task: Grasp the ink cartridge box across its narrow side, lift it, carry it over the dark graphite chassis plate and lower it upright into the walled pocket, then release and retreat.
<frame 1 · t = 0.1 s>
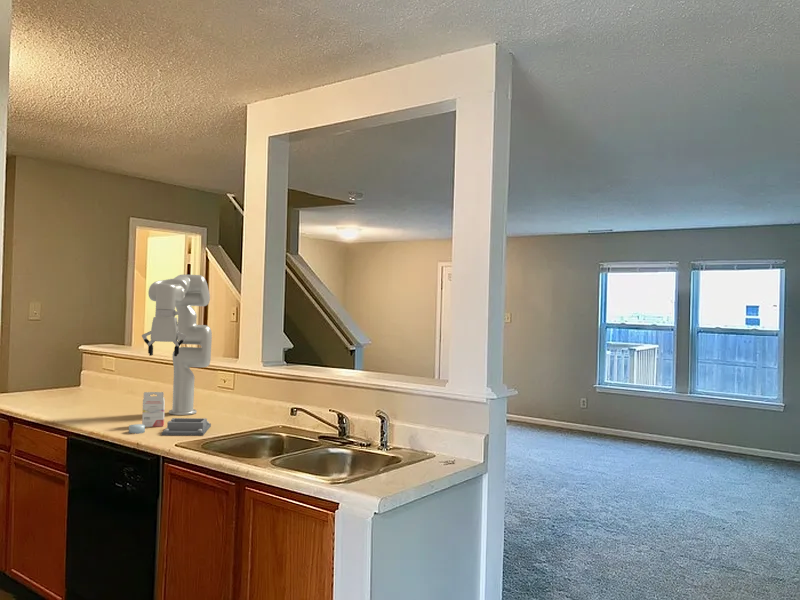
hand: (163, 355, 258), 31 cm above the worktop, fingers open, 9 cm apart
chassis plate: (187, 430, 262), on the worktop
pale blue dome: (136, 432, 256), on the worktop
ink cartridge box: (153, 426, 270), on the worktop
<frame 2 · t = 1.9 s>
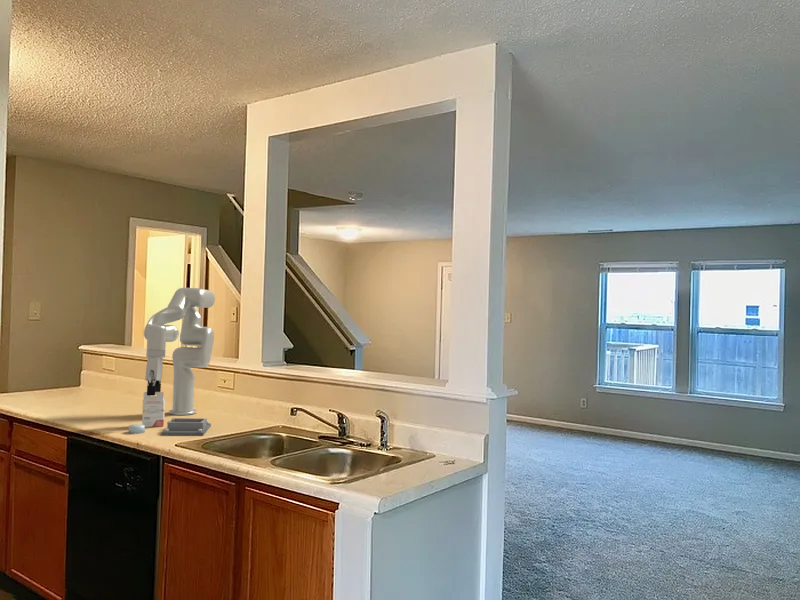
hand: (153, 394, 270), 14 cm above the worktop, fingers open, 9 cm apart
nothing on the worktop moved.
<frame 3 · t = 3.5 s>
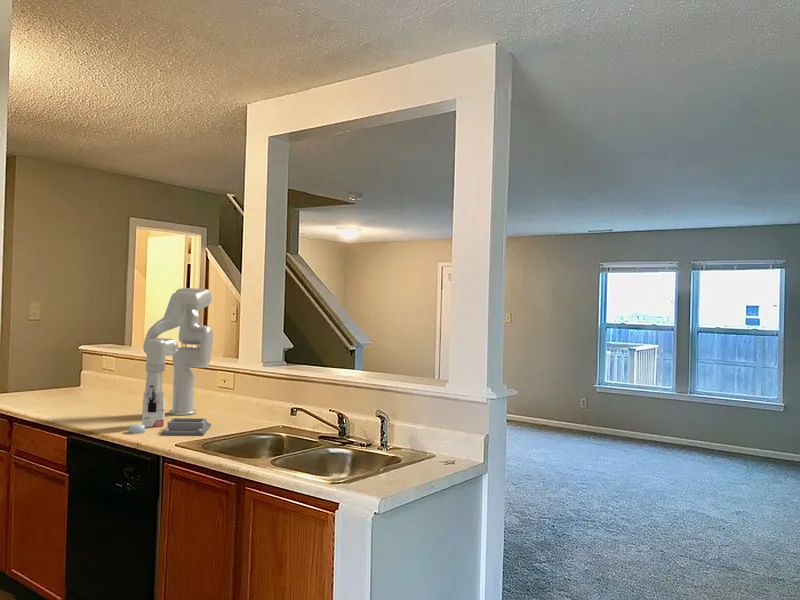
hand: (153, 410, 270), 7 cm above the worktop, fingers closed on ink cartridge box, 5 cm apart
ink cartridge box: (153, 426, 270), on the worktop, touching gripper
everything else where it was.
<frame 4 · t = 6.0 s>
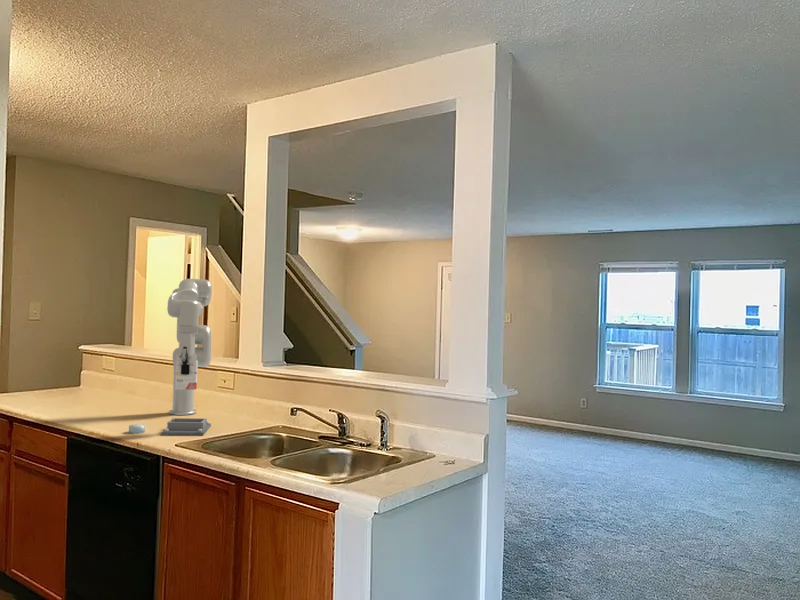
hand: (186, 373, 263), 24 cm above the worktop, fingers closed on ink cartridge box, 5 cm apart
ink cartridge box: (185, 389, 263), point 17 cm above the worktop, touching gripper
everything else where it was.
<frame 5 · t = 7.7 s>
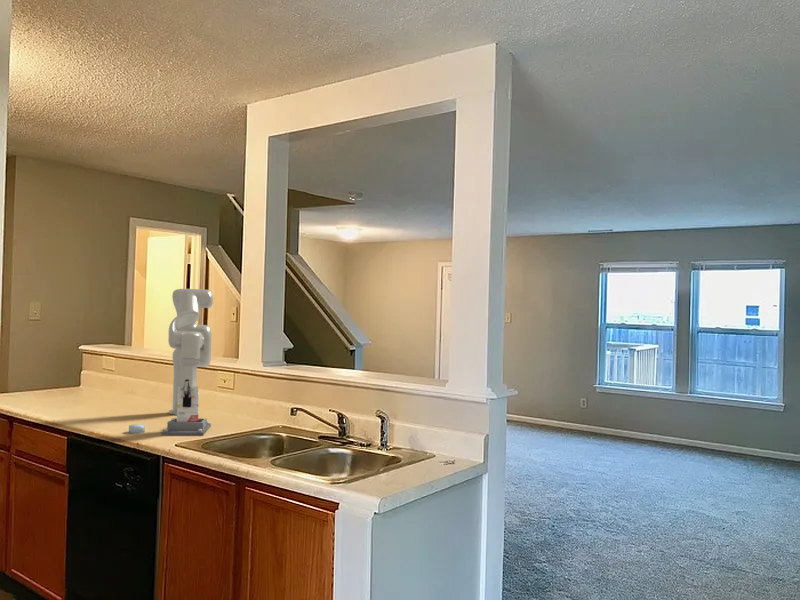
hand: (188, 405, 262), 10 cm above the worktop, fingers closed on ink cartridge box, 5 cm apart
ink cartridge box: (187, 421, 262), point 4 cm above the worktop, touching gripper
everything else where it was.
when the fingers open (9 cm above the worktop, at t = 8.7 s): ink cartridge box drops 1 cm, resting on chassis plate.
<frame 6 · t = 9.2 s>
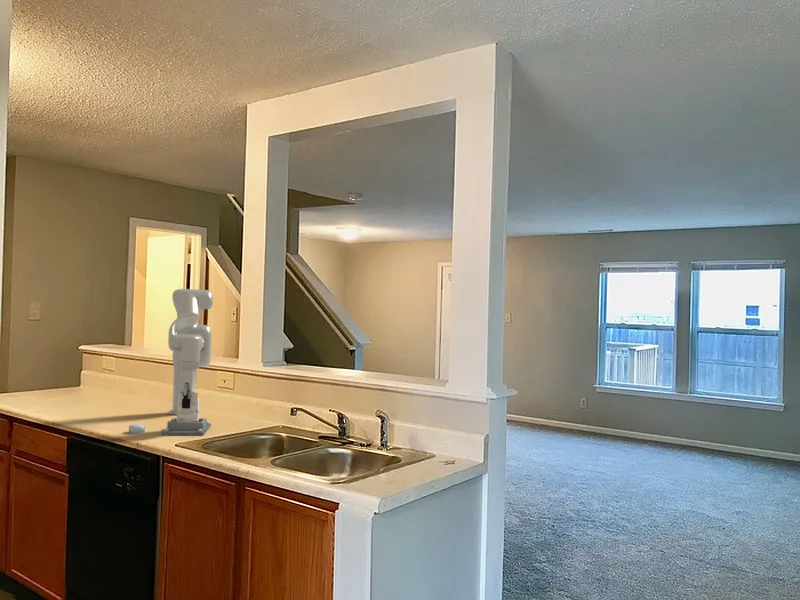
hand: (188, 406, 262), 10 cm above the worktop, fingers open, 9 cm apart
ink cartridge box: (187, 427, 263), point 1 cm above the worktop, touching chassis plate
everything else where it was.
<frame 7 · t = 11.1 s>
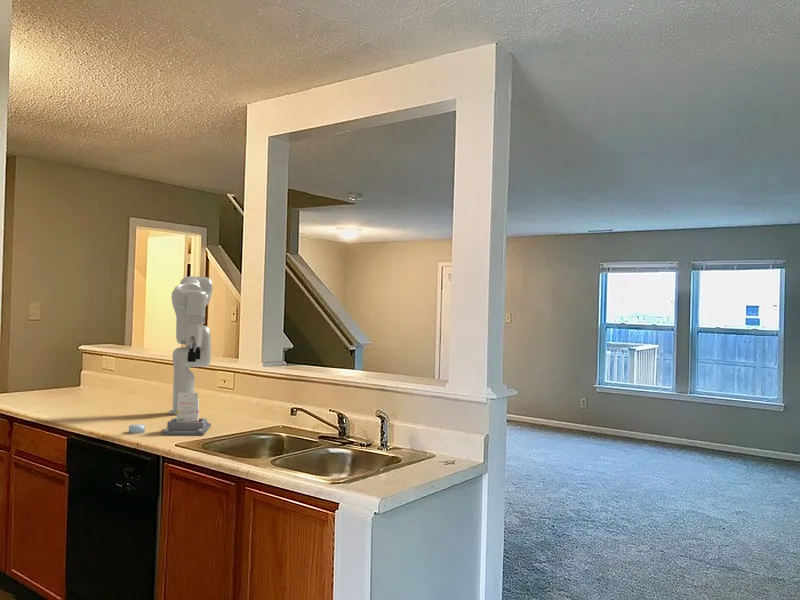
hand: (194, 360, 266), 29 cm above the worktop, fingers open, 9 cm apart
nothing on the worktop moved.
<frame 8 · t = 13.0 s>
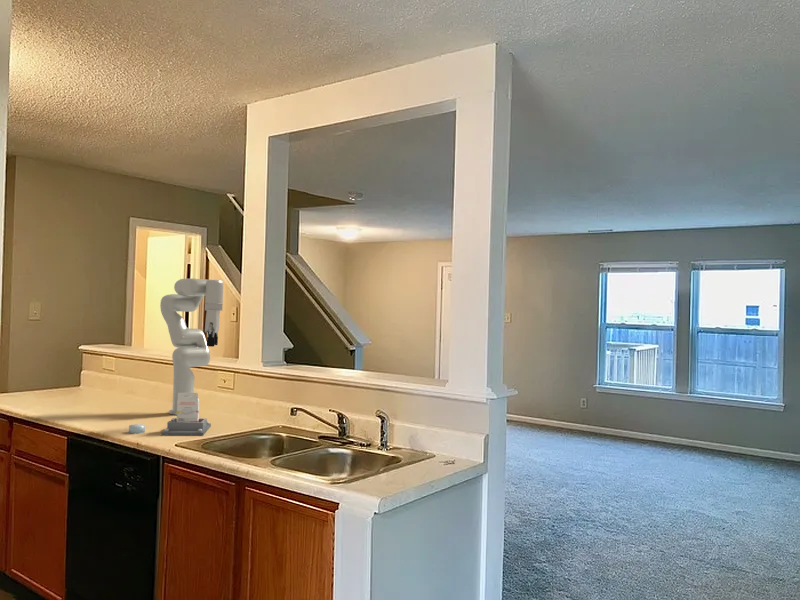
hand: (212, 345, 281), 34 cm above the worktop, fingers open, 9 cm apart
nothing on the worktop moved.
at the end: ink cartridge box 0.7 cm off-centre on the chassis plate, point 1.0 cm above the chassis plate's base; ink cartridge box tilted 0°; the gripper is holding nothing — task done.
